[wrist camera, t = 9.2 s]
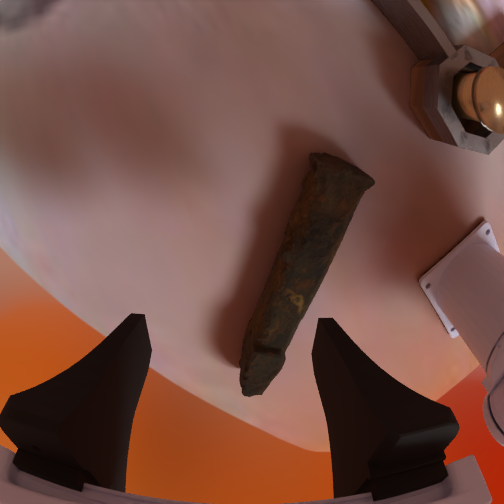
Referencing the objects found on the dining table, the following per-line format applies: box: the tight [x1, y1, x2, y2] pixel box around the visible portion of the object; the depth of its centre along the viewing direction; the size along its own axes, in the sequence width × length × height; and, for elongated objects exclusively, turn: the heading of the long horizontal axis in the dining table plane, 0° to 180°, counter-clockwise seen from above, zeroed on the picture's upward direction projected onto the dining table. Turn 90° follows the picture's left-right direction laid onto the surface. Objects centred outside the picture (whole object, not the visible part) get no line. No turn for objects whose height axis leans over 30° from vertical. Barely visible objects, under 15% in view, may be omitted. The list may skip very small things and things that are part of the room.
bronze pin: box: [451, 66, 504, 134], centre depth 14 cm, size 4×4×6 cm
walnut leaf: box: [409, 43, 504, 142], centre depth 14 cm, size 6×14×4 cm, turn 133°
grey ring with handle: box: [372, 0, 504, 155], centre depth 14 cm, size 14×6×4 cm, turn 43°
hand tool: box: [239, 153, 375, 397], centre depth 21 cm, size 19×4×5 cm, turn 159°
